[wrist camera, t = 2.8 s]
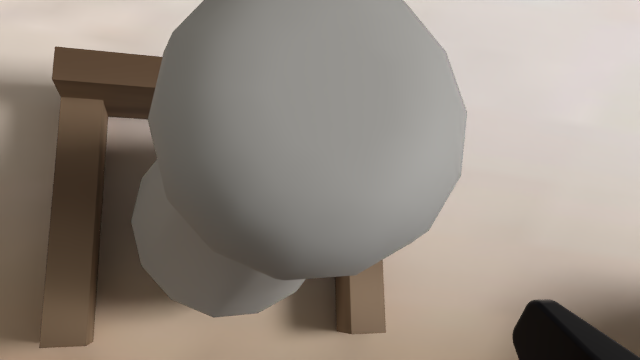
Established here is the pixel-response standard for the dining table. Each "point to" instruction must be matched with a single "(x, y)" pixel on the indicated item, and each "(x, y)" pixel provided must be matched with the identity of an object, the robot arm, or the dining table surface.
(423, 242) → the dining table surface
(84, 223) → the frame
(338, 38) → the salt shaker
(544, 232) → the dining table surface
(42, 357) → the dining table surface
